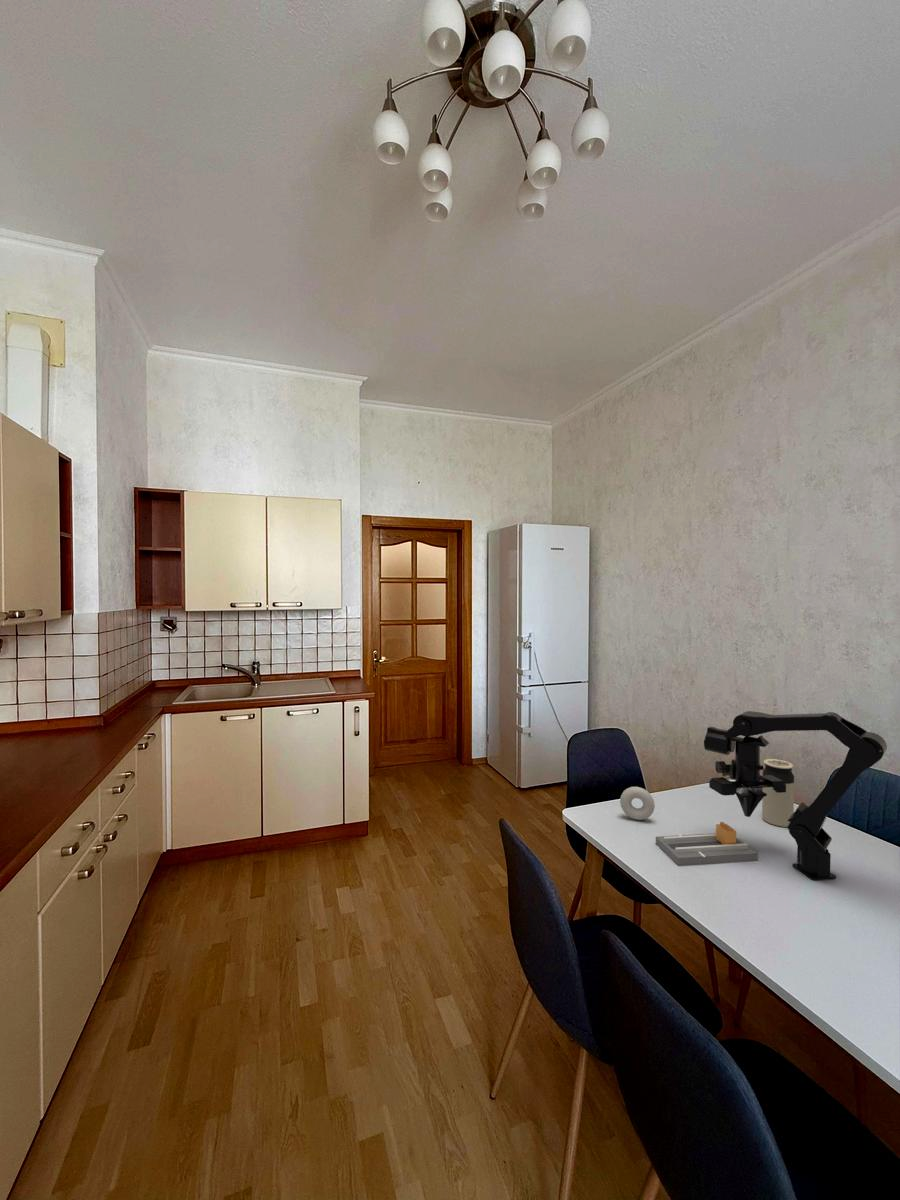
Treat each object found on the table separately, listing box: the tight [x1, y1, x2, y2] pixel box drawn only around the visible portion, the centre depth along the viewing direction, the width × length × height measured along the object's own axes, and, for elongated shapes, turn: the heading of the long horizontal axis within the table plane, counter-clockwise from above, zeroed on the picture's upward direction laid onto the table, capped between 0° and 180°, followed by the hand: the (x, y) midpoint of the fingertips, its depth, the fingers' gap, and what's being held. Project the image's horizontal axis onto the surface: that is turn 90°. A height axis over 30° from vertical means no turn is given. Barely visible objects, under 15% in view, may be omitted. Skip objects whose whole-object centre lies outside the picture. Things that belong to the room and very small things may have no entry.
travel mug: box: [761, 758, 795, 828], centre depth 150 cm, size 8×8×18 cm
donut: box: [619, 786, 656, 821], centre depth 151 cm, size 10×3×10 cm, turn 69°
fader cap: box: [715, 821, 737, 845], centre depth 133 cm, size 4×3×5 cm
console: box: [655, 832, 759, 867], centre depth 132 cm, size 12×22×3 cm, turn 96°
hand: (747, 816), depth 134 cm, fingers closed
